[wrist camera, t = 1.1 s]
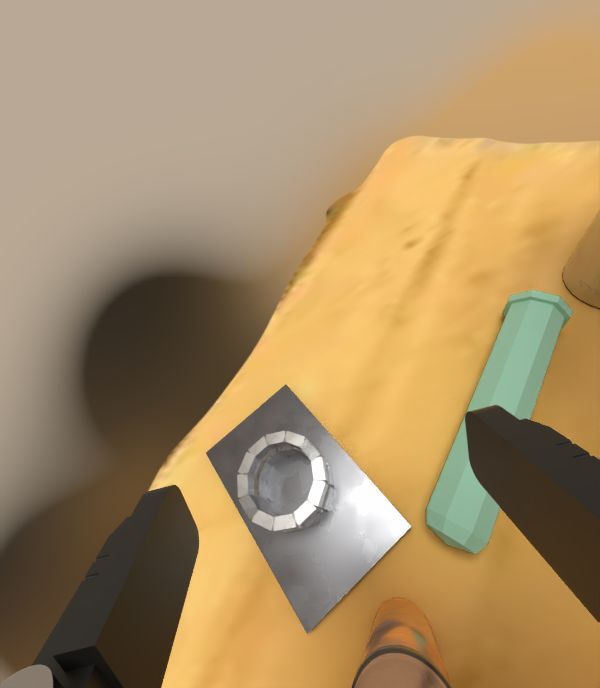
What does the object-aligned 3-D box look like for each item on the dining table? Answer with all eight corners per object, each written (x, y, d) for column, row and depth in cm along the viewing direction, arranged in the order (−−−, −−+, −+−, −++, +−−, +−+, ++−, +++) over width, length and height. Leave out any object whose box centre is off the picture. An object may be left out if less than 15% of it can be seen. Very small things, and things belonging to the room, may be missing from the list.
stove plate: (288, 388, 39) (272, 366, 34) (410, 526, 28) (413, 524, 23) (211, 455, 37) (181, 442, 32) (310, 630, 26) (290, 651, 21)
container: (478, 562, 21) (571, 290, 29) (401, 515, 26) (499, 289, 33) (495, 575, 25) (574, 329, 32) (424, 532, 29) (508, 324, 37)
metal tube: (400, 582, 26) (402, 625, 13) (447, 642, 24) (507, 770, 11) (361, 624, 26) (321, 714, 13) (405, 691, 23) (412, 892, 10)
